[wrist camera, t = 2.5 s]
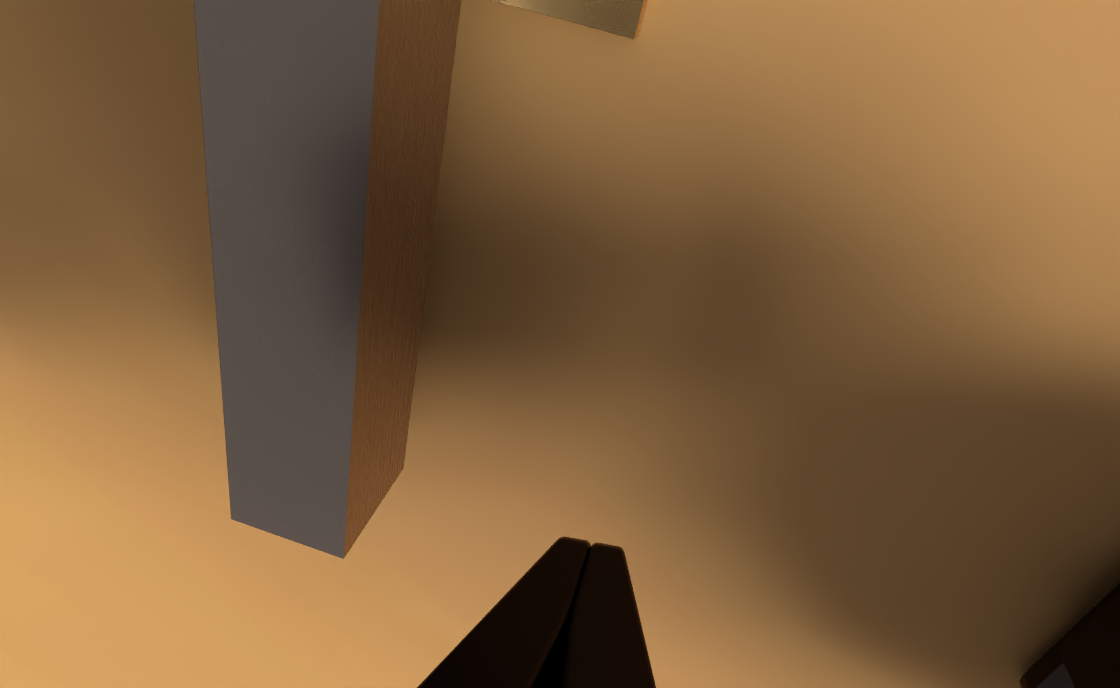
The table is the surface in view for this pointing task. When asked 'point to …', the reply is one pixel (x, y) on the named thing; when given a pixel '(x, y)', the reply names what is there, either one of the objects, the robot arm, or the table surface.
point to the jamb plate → (591, 13)
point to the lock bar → (320, 244)
